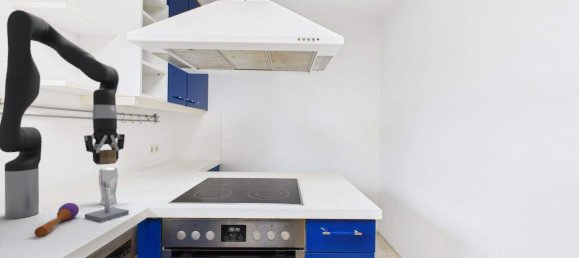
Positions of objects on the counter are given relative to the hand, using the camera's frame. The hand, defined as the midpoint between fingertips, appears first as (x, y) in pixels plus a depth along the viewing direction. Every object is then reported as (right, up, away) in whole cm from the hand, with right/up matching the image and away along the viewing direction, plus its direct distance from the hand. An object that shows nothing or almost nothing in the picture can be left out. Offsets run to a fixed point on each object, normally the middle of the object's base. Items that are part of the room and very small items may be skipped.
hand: (106, 161), depth 105 cm
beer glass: (-10, -20, +16) cm, 28 cm away
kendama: (-9, -21, -10) cm, 25 cm away
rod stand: (+1, -20, -1) cm, 20 cm away
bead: (0, -1, 0) cm, 1 cm away
